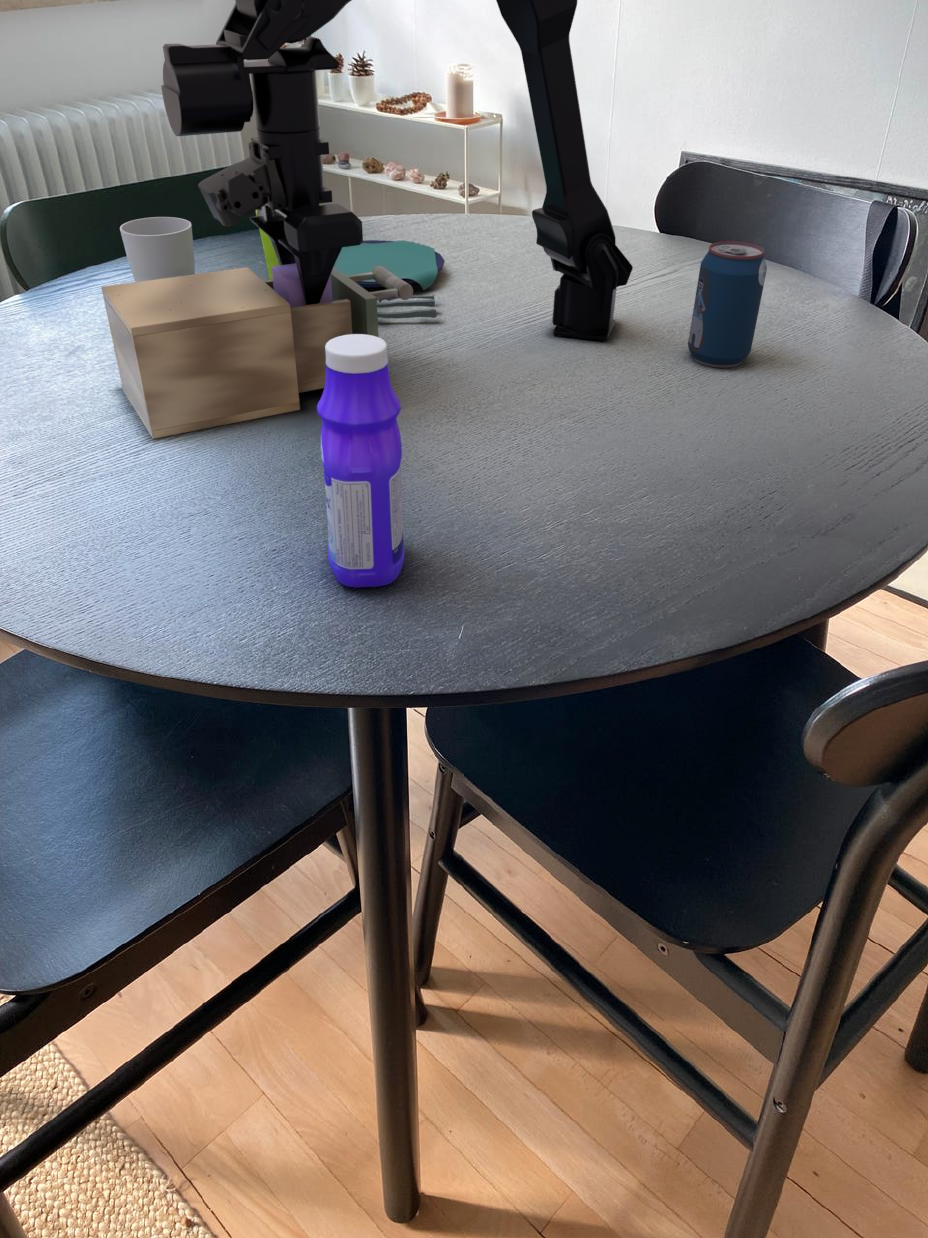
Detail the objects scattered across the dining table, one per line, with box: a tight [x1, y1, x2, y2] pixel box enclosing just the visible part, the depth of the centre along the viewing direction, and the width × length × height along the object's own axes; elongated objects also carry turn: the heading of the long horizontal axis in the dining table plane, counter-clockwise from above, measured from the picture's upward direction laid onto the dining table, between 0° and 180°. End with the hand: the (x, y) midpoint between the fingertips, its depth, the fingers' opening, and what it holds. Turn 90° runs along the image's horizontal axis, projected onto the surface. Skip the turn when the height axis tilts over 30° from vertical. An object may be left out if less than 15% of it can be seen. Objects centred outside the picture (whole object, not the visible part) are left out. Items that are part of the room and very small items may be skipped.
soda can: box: [687, 240, 768, 369], centre depth 104 cm, size 7×7×12 cm
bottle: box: [316, 334, 405, 588], centre depth 67 cm, size 7×6×17 cm
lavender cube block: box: [272, 263, 332, 308], centre depth 95 cm, size 4×4×4 cm
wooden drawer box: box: [101, 266, 301, 440], centre depth 93 cm, size 15×13×11 cm
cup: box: [119, 216, 196, 282], centre depth 114 cm, size 8×8×10 cm
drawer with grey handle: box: [262, 266, 414, 393], centre depth 98 cm, size 18×11×9 cm, turn 118°
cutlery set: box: [334, 239, 446, 319], centre depth 125 cm, size 20×30×2 cm, turn 4°
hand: (303, 300), depth 95 cm, fingers closed on lavender cube block, 4 cm apart
